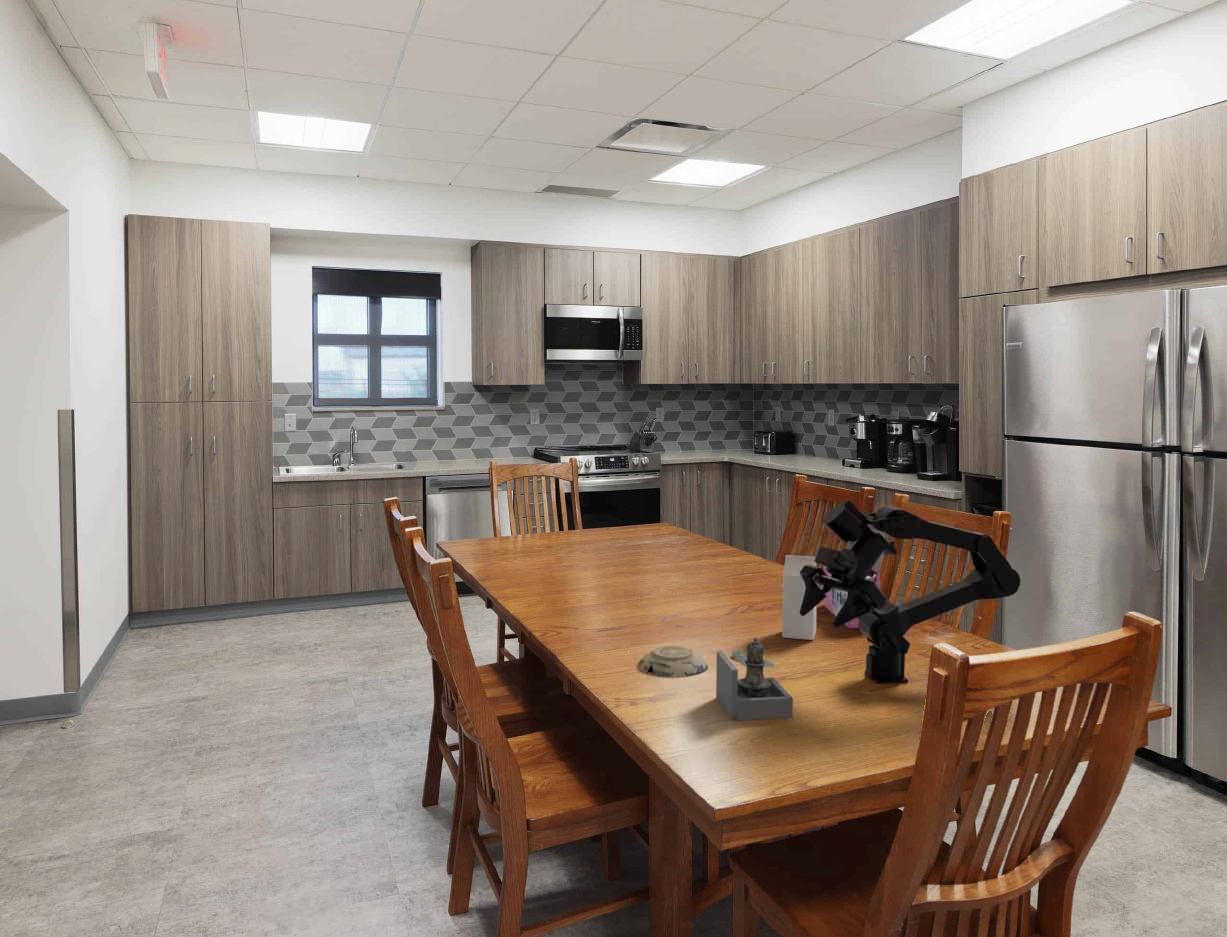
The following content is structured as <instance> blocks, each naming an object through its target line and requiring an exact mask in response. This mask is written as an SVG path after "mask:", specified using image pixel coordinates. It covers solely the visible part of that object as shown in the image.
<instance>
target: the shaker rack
mask: <svg viewBox="0 0 1227 937" xmlns="http://www.w3.org/2000/svg"><path fill="white" fill-rule="evenodd" d="M715 669H716V670H715V671H716V674H715V675H716V676H715V677H716V680H715V682H716V683H715V684H716V685H715V689H716V690H715V694H716V695H715V698H716V700H717V701H718V703H719V704H720V706H721V707H722V709H723V710H724V711H725V714H727V716H728V718H729V719H730V720H731V721H745V720H746V721H748V720H749V721H750V720H769V719H770V720H771V719H789V718H790V719H791V718H793V717H794V716H793V715H794V714H793V712H794V711H793V709H794V707H793V706H794V698H793V696H792V695H791V694H790V693H789V692H788V691H787V690H786V689H785V688H784V687H783V686H782V685H781V684H780V683H779V682H778V681H777V679H775V677H773V676H772V677H771V676H769V677H764V679H766V680H768V681H770V682H771V686H770V687H769V691H768V694H767V695H766V696H764V697H762V698H743V697H744V696H745V695H744V694H743V693H742V691H741V689H740V685H739V683H738V682H739V680H740V679H741V678H739V677H738V674H739V670H738V668H737V667H736V666H735V665H734V664H733V662H732V661H731V660H730V659H729V658H728V657H727V655H726V654H725V653H724V652H723V650H716V668H715Z"/></svg>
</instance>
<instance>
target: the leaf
mask: <svg viewBox="0 0 1227 937" xmlns="http://www.w3.org/2000/svg"><path fill="white" fill-rule="evenodd" d="M731 655H732V658H733V660H734V661H735V662H737V663H739V664H740V665H742V666H744V667H747V664H746V663H745V661H746V660H747V651H744V650H740V651H739V650H736V651H735V650H734V651H732V653H731ZM763 661H764V662H765V664H764V665H763V668H765V669H766V668H767V669H768V668H774V667H775V665H776V664H775V663H773V662H771V660H768V659H765V658H763ZM776 668H779V667H776Z"/></svg>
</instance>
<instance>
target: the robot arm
mask: <svg viewBox="0 0 1227 937" xmlns="http://www.w3.org/2000/svg"><path fill="white" fill-rule="evenodd" d="M822 524H823V525H824V526H825V527H826V528H827V529H828V530H829V531H830V532H832V533H833V534H834V536H836V537H837V539H839V540H840V541H841V542H843V543H848V542H850V543H853V544H851V546H850V548H842V549H840V550H836V549H833V548H829V547H825V546H819V548H818V550H817V553H816V556H815V557H816V558H815V561H814V562H816V564H820V565H823V566H824V565H825V566H827V568H826V570H827V571H828V573H831V577H828V576H827V574H826V573H825V572H824V569H823V568H822V567H820V566H817V567H816V566H812V565H805V566H804V567H803V568H802V570H801V571H800V573H799V574H800V575H801V576H802V580H803V581H804V582H805V587H806V588H805V594H804V598H803V601H802V605H801V609H800V612H799V613H800V614H801V616H805V615H806V614H807V613H809V612H810V611H811V610H812V609H813V608H814V607H815V606H816V605H817V606H818V605H819V604H820V603H821V602H823V599H824V598H825V597H826V595H825V593H827V592H829V591H830V590H831V588H835V589H838V590H841V591H845V592H848V594H847V600H846V602H845V603H844V605H843V607H842V608H841V610H840V611H839V613H838V614H837V616H835V618H834V620H833V622H832V624H831V625H832V626H833V627H834V628H836V629H838V628H839V627H841V626H842V625H845V623H847V622H849V621H851V620H852V619H855V618H857V617H859V616H860V618H859V622H858V625H859V628H858V629H859V630H860V632H861V633H862V634H863V635H865V638H866V640H867V642H868V643H870V644H872V645H869V646H868V653H866V656H865V657H866V658H865V659H866V660H865V670H864V674H866V676H868V677H869V678H870V679H871V680H873V681H874V682H875V683H878V684H890V683H891V684H892V683H908V682H909V678H907V677H906V676H905V672H906V671H905V665H906V664H905V663H906V661H905V659H906V654H908V651H909V649H910V648H911V647H910V646H911V643H910V642H909V641H908V640H907V639H906V638H905V637H904V636H905V635H906V634H907V632H909V631H910V629H911V628H912V627H914V626H915V625H916V626H917V625H918V624H920V623H924V622H925V621H928V620H930V619H933V618H936V617H938V616H939V617H940V616H941V615H943V614H946V613H948V612H951V611H953V610H956V609H958V608H961V607H964V606H967V605H969V604H971V603H973V602H976V601H983V600H987V601H988V600H998V599H1003V598H1007V597H1011V596H1014V595H1015V594H1017V593H1018V591H1019V588H1020V586H1021V577H1020V575H1019V573H1018V572H1017V570H1016V569H1013V568H1012V566H1011V564H1010V562H1009V561H1008V560H1007V559H1006V558H1007V557H1006V558H1005V556H1004V555H1003V554H1002V553H1001V551H1000V550H999V548H998V547H997V546H996V544H995V542H994V540H993V539H992V537H991V536H989V535H988V534H985V533H982V532H978V531H969V530H965V529H961V528H956V527H954V526H949V525H945V524H940V523H937V522H932V521H929V520H925V519H924V518H921V517H919V516H918V515H916V514H914V513H911V512H909V511H907V510H904V509H901V508H899V507H896V506H893V505H883V506H882V507H880V508H879V509H877V510H876V511H875V512H870V513H866V514H865V513H864V514H863V513H862V512H861V511H860V510H859V509H858V508H857V507H856V506H855V504H854V503H853V502H852V501H851V499H847V498H846V499H843V501H842V502H841V503H838V504H836V505H835V506H833V508H830V509H829V510H828V511H827V512H826V513H825V514H824V517H822ZM872 529H874V530H876V531H877V532H875V531H873V530H872ZM881 533H882V534H884V535H886V536H888V537H890V538H894V539H898V540H899V539H900V540H926V541H929V542H930V541H931V542H935V543H939V544H942V545H947V546H950V547H955V548H959V549H963V550H966V551H968V552H969V557H970V560H971V561H970V562H971V564H972V566H973V568H974V569H972V570H971V571H970V572H969V574H968V575H967V576H966V577H965V578H964V579H962V580H960V581H957V582H955V583H953V584H949V585H947V586H945V587H943V588H939V589H937V590H935V591H933V592H930V593H927V594H925V595H924V594H923V595H922V596H920V597H917V598H915V599H912V600H909V601H907V602H903V604H897V605H896V604H894V603H892V602H891V601H889V600H888V599H886V598H887V597H886V596H887V595H885V593H884V592H883V591H882V590H881V588H880V589H879V587H878V586H877V585H876V584H875V582H873V581H869V580H865V579H866V578H867V576H869V577H873V576H874V574H875V573H874V571H873V570H874V568H875V566H876V565H877V563H878V562H879V561H880V559H881V557H882V556H883V555H884V556H896V555H897V553H898V552H897V548H896V546H895V541H894V540H893V541H889V540H887V539H886V538H885V537H884V536H883V535H882V534H881ZM872 569H873V570H872ZM817 606H816V607H817Z"/></svg>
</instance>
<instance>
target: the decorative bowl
mask: <svg viewBox="0 0 1227 937" xmlns="http://www.w3.org/2000/svg"><path fill="white" fill-rule="evenodd" d="M637 664H638V666H637V668H638V667H639V668H638V670H640V671H641V670H642V672H644V673H645V672H647V673H648V671H649V670H650V668H652V671H653V675H654V676H656V677H657V676H658V677H662V678H688V677H694V676H697V675H701V674H703V673H705V672H707V670H708V669H709V664H708V663H707V662H706V660H705V659H704V658H703V657H702V656H701V655H700V654H697V652H694V651H693V650H692V649H690V648H688V647H685V646H682V645H681V646H680V645H662V646H657V647H655V648H653V650H652V651H649V653H646V654H645V655H644V656H643V657H642V658H640V660H639V661H638V662H637Z"/></svg>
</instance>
